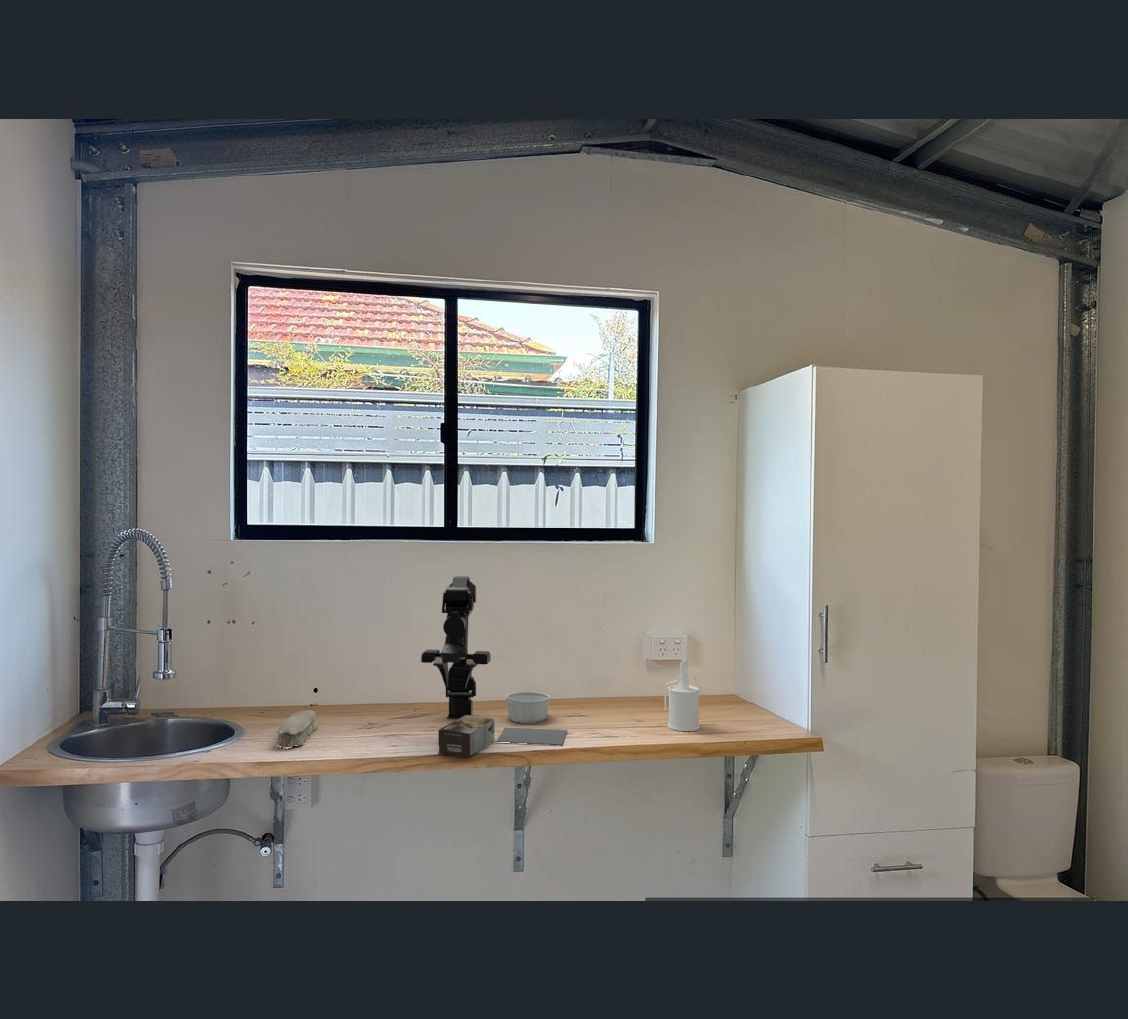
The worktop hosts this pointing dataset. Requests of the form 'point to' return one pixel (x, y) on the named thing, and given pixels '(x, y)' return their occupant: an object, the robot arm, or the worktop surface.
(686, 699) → the oil can
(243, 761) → the worktop surface
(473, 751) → the coffee box
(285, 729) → the shoe brush
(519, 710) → the ramekin
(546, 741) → the mat
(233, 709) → the worktop surface
